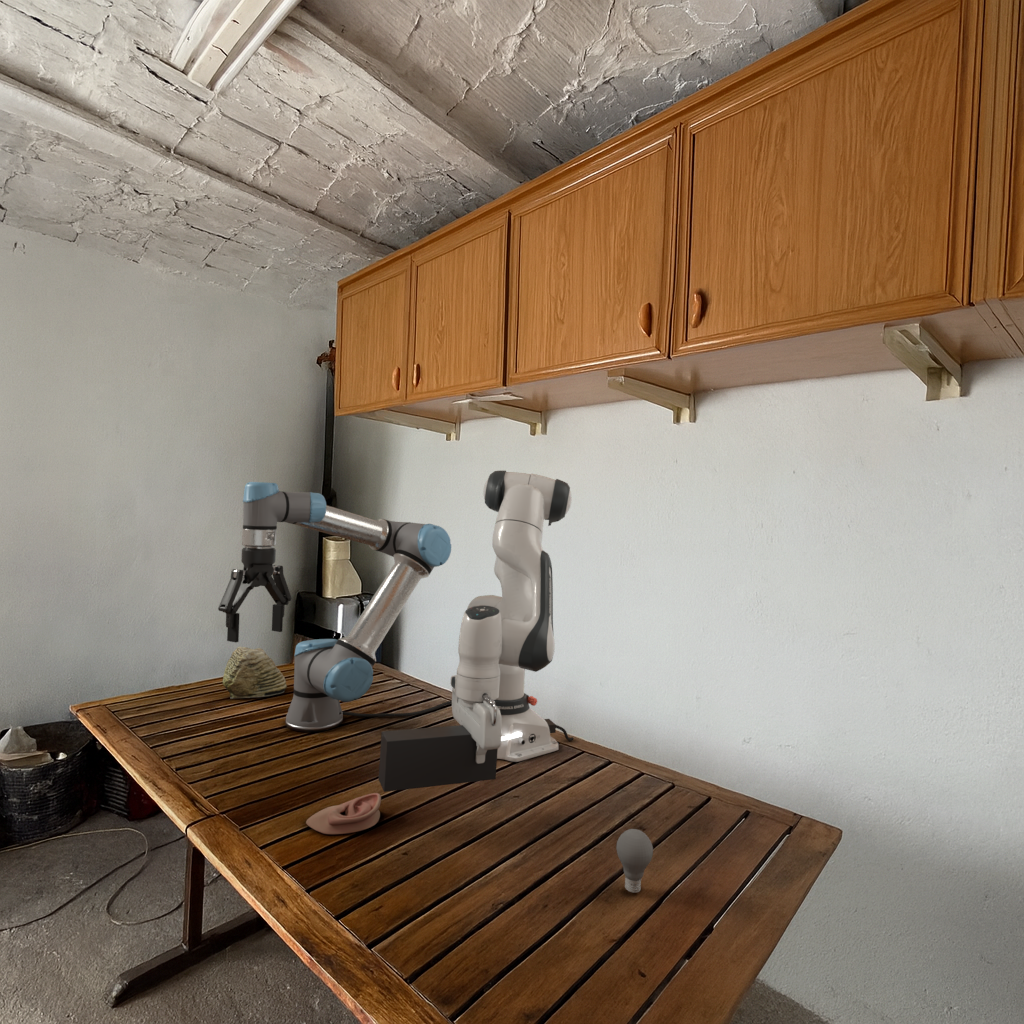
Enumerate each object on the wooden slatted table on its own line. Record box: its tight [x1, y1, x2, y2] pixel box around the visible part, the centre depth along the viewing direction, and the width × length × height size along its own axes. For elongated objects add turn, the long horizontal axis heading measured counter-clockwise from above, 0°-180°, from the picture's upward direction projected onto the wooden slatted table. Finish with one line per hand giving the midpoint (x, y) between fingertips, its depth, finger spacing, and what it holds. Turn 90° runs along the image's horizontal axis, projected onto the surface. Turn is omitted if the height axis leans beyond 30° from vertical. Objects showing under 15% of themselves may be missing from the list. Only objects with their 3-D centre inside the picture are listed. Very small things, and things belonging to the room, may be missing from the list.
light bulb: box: [615, 828, 654, 894], centre depth 106 cm, size 6×6×10 cm
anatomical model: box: [305, 792, 382, 835], centre depth 124 cm, size 13×4×12 cm
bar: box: [378, 724, 498, 793], centre depth 126 cm, size 23×6×10 cm, turn 113°
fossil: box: [222, 646, 288, 699], centre depth 198 cm, size 9×18×15 cm, turn 132°
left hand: (255, 636), depth 151 cm, fingers open, 13 cm apart
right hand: (473, 755), depth 129 cm, fingers closed on bar, 5 cm apart
